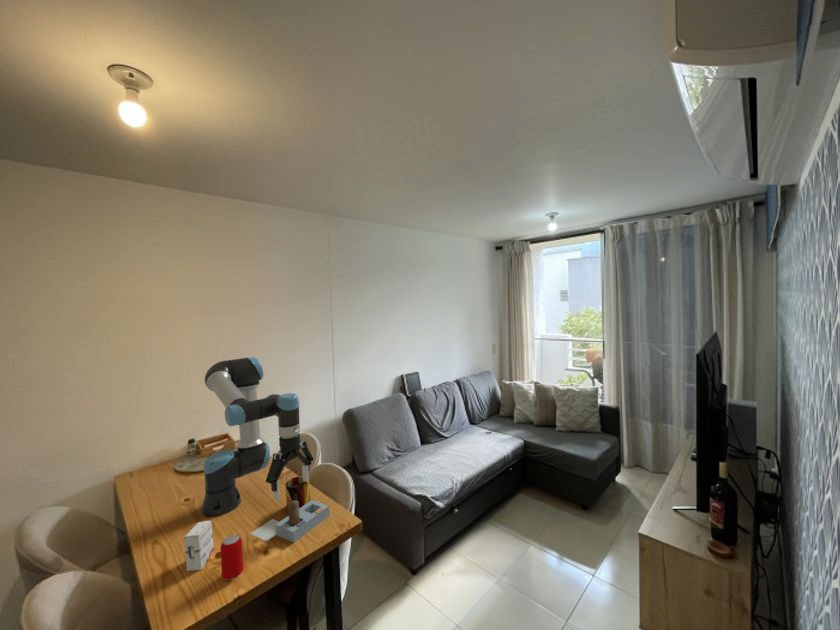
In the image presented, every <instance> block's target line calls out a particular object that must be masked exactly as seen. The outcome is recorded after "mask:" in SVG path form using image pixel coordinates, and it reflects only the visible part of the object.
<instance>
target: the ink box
mask: <svg viewBox="0 0 840 630" xmlns="http://www.w3.org/2000/svg"><path fill="white" fill-rule="evenodd" d="M213 537H214V536H213V525H212V520H205V521H199V522H197V523H196V524H195V525H194V526H193V527H192V529H190V531H189V532H188V533H187V534H185V536H183V540H184V541H183V542H184V549H185V553H184V554H185V563H186V572H195V571H201V570H202V569H203V568H204V567H205V565H206V564H207V563H208V562H209V558H210V556H211V555H212V553H214V550H215V547H214V538H213Z"/></svg>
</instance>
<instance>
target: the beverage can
mask: <svg viewBox="0 0 840 630" xmlns="http://www.w3.org/2000/svg"><path fill="white" fill-rule="evenodd" d="M219 550H220V564H221V578H222V579H223V580H225V581H231V580H234V579H236V578H237V577H239V576H240V575H241V574H242V573H243V571H244V555H243V553H244V552H243V538H241V536H239V534H232V535H228V536H227V537H225V538H224V539H223V540H222V542H221V544H220V549H219Z"/></svg>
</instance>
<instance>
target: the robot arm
mask: <svg viewBox="0 0 840 630" xmlns="http://www.w3.org/2000/svg"><path fill="white" fill-rule="evenodd" d="M262 379H264V369H263V365H262V363H261V361H260V360H259V359H258V358H257V357H243V358H235V359H228V360H221V361H217V362H215V363H214V364H212V366H210V367H209V369H207V370H206V373H205V375H204V383H205V386H206V388H207V389H208V390H209V391H211V392H213V393H214V394H215V395H216V397H217V398H218V400H220V401H221V404H223V406H224V408H225V409H224V419H225V422H226V423H225V424H227V426H229V427H235V426H238V427H239V439H240V440H239V441H240V442H239V443H238V444H237V446H236V447H237V448H236V449H237V450H235V451H234V450H233V449H226V450H225V449H223V450H220V451H217V452H215V453H213V454H211V455H210V456H208V457H207V458H206V459H205V460H204V463H203V473H204V474H203V475H204V491H205V494H204V497H203V501H202V504H201V514H202V515H203V516H206V517H215V516H221V515H224V514H227V513H229V512H231V511H233V510H234V509H236V508H237V507H238V506H239V505H241V502H242V501H241V500H242V498H241V494H240V492H239V490H238V488H237V485H236V479H238V478H242V477H244V476H247V475H250V474H252V473H256V472H259V471H260V470H263V469H265V468H266V467H268V464H269V463H270V459H271V449H270V446H269V444H268V442H265V439H264V438H263V437H261V429H260V420H264V419H267V418H271V417H274V416H276V417H277V418H278V419H277V423H278V436H279V438H278V441H279V443H278V445H279V448H280V451H279V452H278V453H276V452H274V453H273V454H272V461H271V463H270V467H269V469H268V473H267V475H266V478H265V482H266V483H267V484H270V485H271V488H270V489H271V492H273V493H272V496H273V497H272V498H273V499H275V500H277V501H279V500H280V499H281V492H280V491H281V490H280V487H281V485H280V481H279V478H280V477H281V475H282V473H283V470H284V469H285V466H286V465H287V464H288V463H289V462H290V461H291V460H294V459H296V458H297V459H298V460H300V461H301V463H303V464H302V465H301V468H302V476H303V481H305V482H309V483H310V477H309V476H310V474H309V472H310V471H311V468H310V466H311V465H312V462H313V461H314V457H313V456H312V454H311V451H310V450H309V448H308V445H307V441H303V440H301V434H300V433H301V428H300V427H301V426H300V401H299V396H298V394H297V393H292V392H291V393H290V392H289V393H288V392H287V393H283V394H277V393H272V394H269V395H267V397H264V398H259V399H258V394H257V393H258V392H257V389H258V387H259V386H260V381H261V380H262ZM300 450H301V451H302V452H300ZM302 453H303V454H304V455H303V454H302Z"/></svg>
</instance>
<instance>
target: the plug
mask: <svg viewBox="0 0 840 630" xmlns="http://www.w3.org/2000/svg"><path fill="white" fill-rule="evenodd" d="M288 511H289V512H288ZM288 511H287V512H288V516H289V525H290V526H292V527H294V526H295V525H297V524H298V523H299V522H300V518H299V501H297V500H294V501H291V502H289V503H288Z"/></svg>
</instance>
